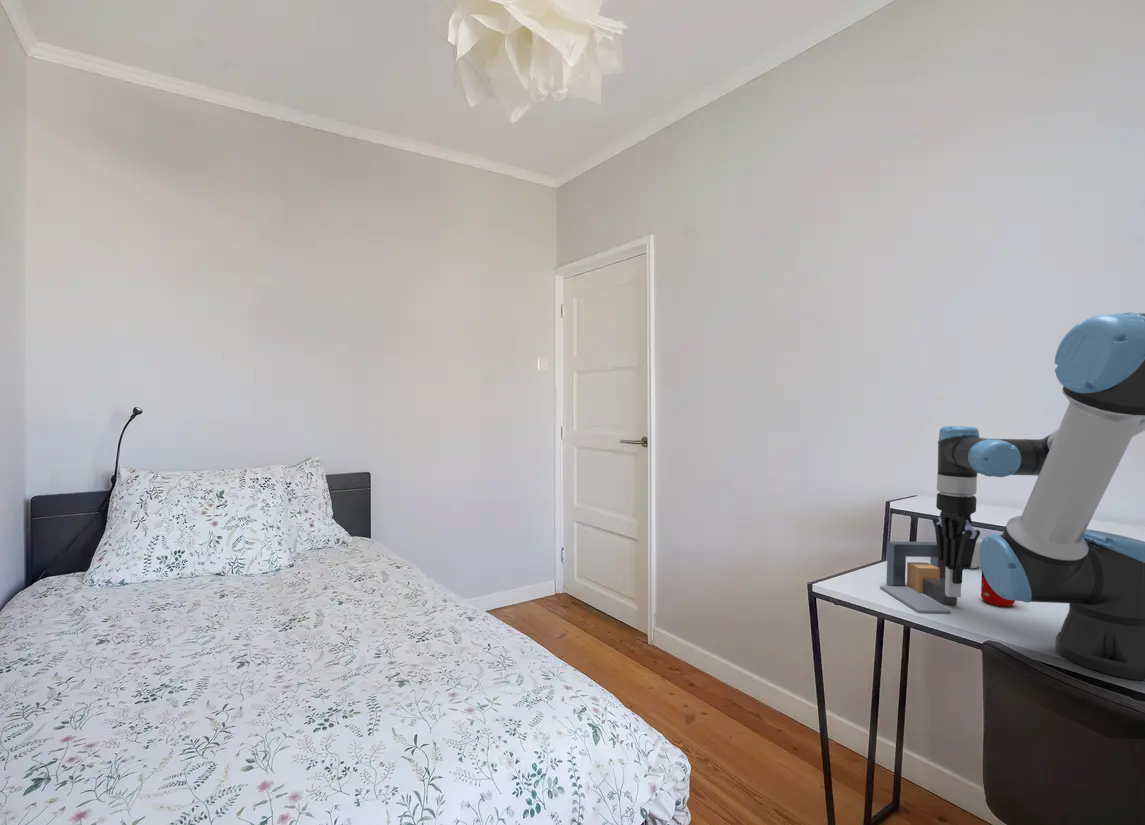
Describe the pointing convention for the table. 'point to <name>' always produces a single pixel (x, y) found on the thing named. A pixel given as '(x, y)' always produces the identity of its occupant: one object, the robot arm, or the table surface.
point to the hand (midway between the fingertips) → (952, 595)
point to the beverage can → (993, 595)
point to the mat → (914, 599)
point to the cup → (976, 554)
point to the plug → (928, 582)
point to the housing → (909, 549)
